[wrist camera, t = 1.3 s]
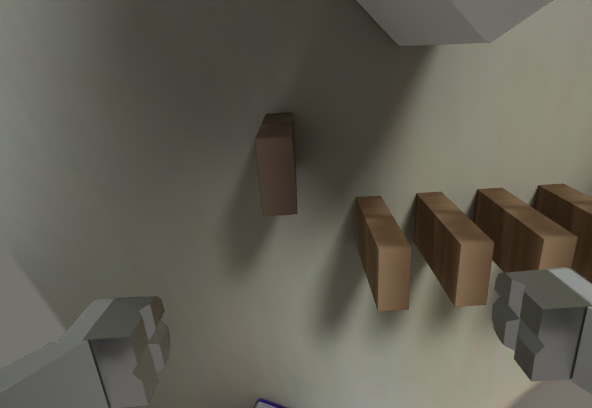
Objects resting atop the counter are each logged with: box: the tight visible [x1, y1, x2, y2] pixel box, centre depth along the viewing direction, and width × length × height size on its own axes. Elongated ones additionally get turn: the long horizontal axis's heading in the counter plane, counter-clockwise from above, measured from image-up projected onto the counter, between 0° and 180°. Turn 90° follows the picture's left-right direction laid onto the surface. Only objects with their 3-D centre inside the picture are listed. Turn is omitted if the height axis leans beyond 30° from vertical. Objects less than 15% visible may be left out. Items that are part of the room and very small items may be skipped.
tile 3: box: [414, 192, 494, 307], centre depth 31 cm, size 2×5×10 cm, turn 4°
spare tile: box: [255, 113, 297, 216], centre depth 29 cm, size 2×5×10 cm, turn 4°
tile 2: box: [356, 196, 412, 311], centre depth 31 cm, size 2×5×10 cm, turn 4°
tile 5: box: [535, 184, 592, 283], centre depth 31 cm, size 2×5×10 cm, turn 4°
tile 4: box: [474, 188, 578, 273], centre depth 31 cm, size 2×5×10 cm, turn 4°
